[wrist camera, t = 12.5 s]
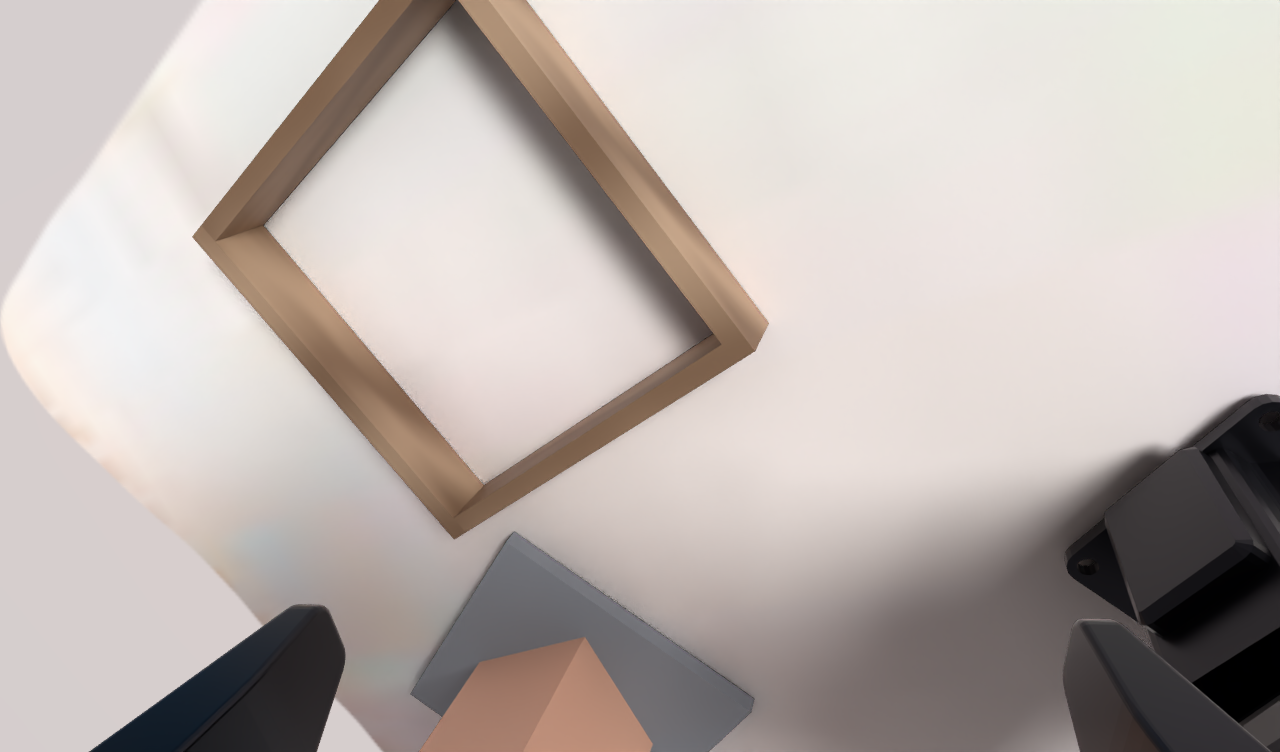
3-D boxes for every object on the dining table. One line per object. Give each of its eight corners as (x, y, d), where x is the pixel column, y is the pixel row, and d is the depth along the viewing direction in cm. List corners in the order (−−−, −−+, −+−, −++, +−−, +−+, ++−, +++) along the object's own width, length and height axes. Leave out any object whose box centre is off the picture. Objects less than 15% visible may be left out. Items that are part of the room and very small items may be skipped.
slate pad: (754, 699, 27) (750, 712, 27) (619, 825, 32) (614, 839, 32) (514, 531, 27) (506, 541, 27) (418, 683, 33) (410, 694, 32)
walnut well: (768, 323, 21) (754, 351, 20) (483, 506, 27) (454, 539, 26) (478, -64, 20) (434, -71, 18) (241, 221, 26) (192, 236, 24)
